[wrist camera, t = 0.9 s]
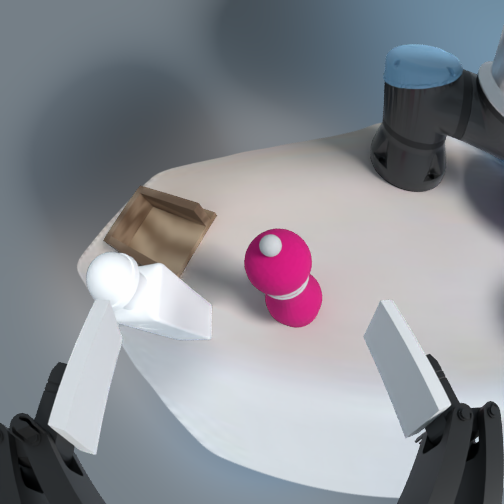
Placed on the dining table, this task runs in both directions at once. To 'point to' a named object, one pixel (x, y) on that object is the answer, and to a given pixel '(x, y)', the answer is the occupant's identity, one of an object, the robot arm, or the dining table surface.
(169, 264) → the walnut holder
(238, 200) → the dining table surface
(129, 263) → the white plastic bottle
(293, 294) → the pepper mill
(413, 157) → the robot arm
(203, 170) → the dining table surface
